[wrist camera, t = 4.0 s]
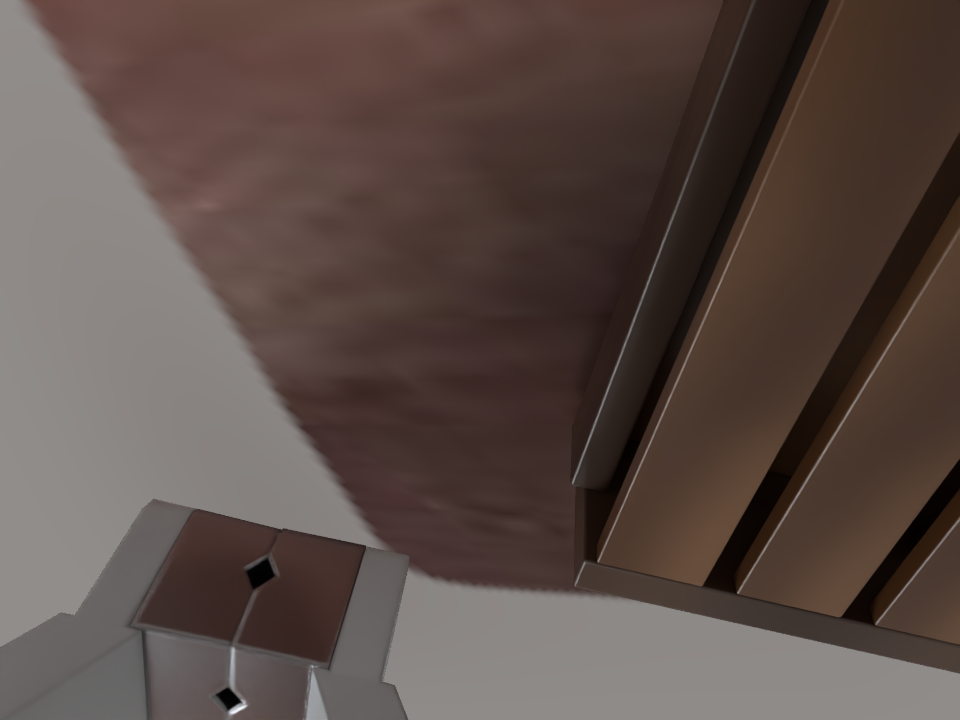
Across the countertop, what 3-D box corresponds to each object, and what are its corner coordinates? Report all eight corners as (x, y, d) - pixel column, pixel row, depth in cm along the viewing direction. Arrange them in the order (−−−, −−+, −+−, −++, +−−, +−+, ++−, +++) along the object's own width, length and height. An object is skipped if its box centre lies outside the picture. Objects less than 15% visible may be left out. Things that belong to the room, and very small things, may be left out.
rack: (564, 413, 25) (556, 583, 20) (776, -204, 16) (869, -198, 11) (889, 488, 26) (967, 677, 20) (1284, -76, 16) (1626, -6, 11)
